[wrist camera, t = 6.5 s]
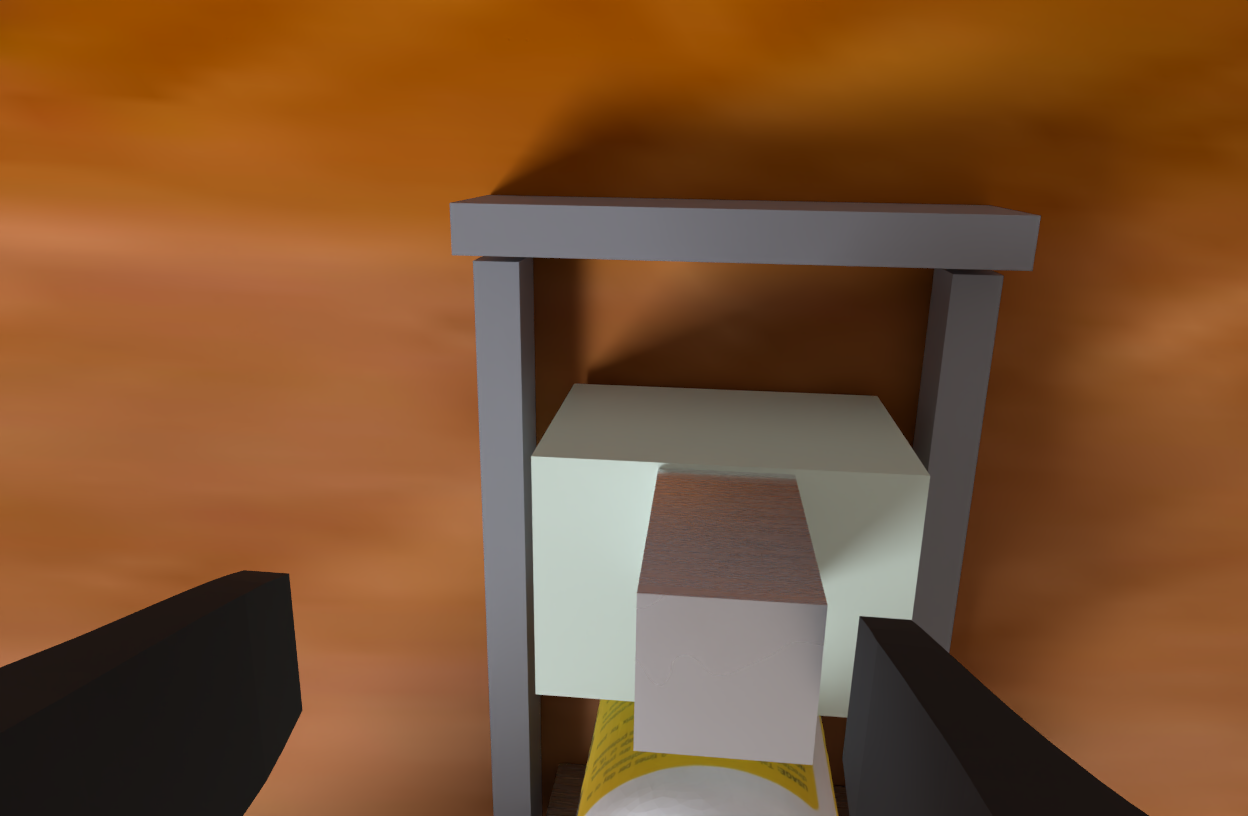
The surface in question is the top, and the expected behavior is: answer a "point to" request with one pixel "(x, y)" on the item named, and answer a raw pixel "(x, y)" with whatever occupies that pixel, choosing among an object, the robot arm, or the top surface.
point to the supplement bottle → (695, 778)
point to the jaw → (719, 558)
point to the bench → (725, 233)
